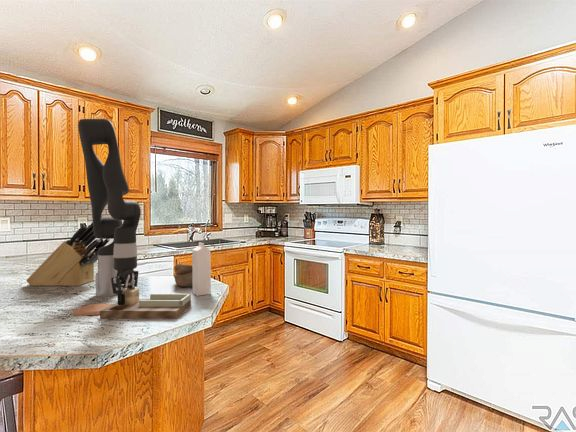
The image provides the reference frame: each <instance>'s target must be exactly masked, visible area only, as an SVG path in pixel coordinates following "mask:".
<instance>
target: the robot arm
mask: <svg viewBox="0 0 576 432" xmlns="http://www.w3.org/2000/svg"><path fill="white" fill-rule="evenodd" d="M77 130H78V135H79V139H80V140H79V141H80V144H81V147H82V148H81V149H82V153H83V158H84V165H85V173H86V174H85V175H86V181H87V190H88V193H89V199H90V205H91V218H92V222H93V231H94V235H95V237H96V239H103V240H105V239H110V240H111V239H113V241H112V242H111V243H109V244H106V245H105V246H104V247H101V248H99V249H98V260H97V272H95V296H98V297H110V296H111V297H112V296H116V295H117V302H118V305H124V304H125V289H136V288H137V287H138V281H139V271H138V270H135V269H136V268H138V247H137V229H138V226H139V223H140V218H141V216H142V215H141V214H142V212H141V210H142V209H141V207H140V204H139V203H138V202H137V201H136V200H128V199H127V200H126V199H124V198H123V196H125V195H127V194H128V193H129V191H130V188H129V185H128V181H127V179H126V176H125V172H124V169H123V166H122V165H123V164H122V159H121V155H120V149H119V148H120V147H119V145H118V140H117V135H116V131H115V128H114V125H113V123H112V122H111V120H109V119H107V118H81V119H79V120H78V123H77ZM95 145H96V146H98V145H107V148H108V154H107V158H106V160H105V162H104V163H103V162H102V160H101V159H100V158H99V157H98V156H97V154H96V152H95V151H94V146H95ZM106 207H107V211H108V214H109V215H110V217H103V212H104V210H105V208H106Z"/></svg>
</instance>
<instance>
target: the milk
mask: <svg viewBox="0 0 576 432" xmlns="http://www.w3.org/2000/svg"><path fill="white" fill-rule="evenodd" d="M191 250H192V251H191V261H192V262H191V263H192V285H193V286H192V294H193V295H195V296H196V297H199V296H205V295H211V294H212V288H211V287H212V284H211V283H212V280H211V279H212V278H211V277H212V276H211V275H212V273H211V272H212V271H211V270H212V268H211V267H212V266H211V265H212V264H211V263H212V261H211V256H212V255H211V254H212V253H211V249H209V248H207V247H205V243H204V242H200V241H199V242H198V246H196V247H194V248H193V249H191Z"/></svg>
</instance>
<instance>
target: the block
mask: <svg viewBox="0 0 576 432" xmlns="http://www.w3.org/2000/svg"><path fill="white" fill-rule="evenodd" d="M139 299H140V288H135V289H127V288H126V289H125V304H124V305H133V304H135V303H136V302H138V301H139Z"/></svg>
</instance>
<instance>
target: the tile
mask: <svg viewBox="0 0 576 432" xmlns="http://www.w3.org/2000/svg"><path fill="white" fill-rule="evenodd" d="M113 304H114V303H89V304H88V305H84V306H83V307H80V308H77V309H76V310H73V316H80V315H81V316H82V315H83V316H85V315H87V316H100V311H101V310H103V309H105V308H107V307H109V306H111V305H113Z"/></svg>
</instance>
